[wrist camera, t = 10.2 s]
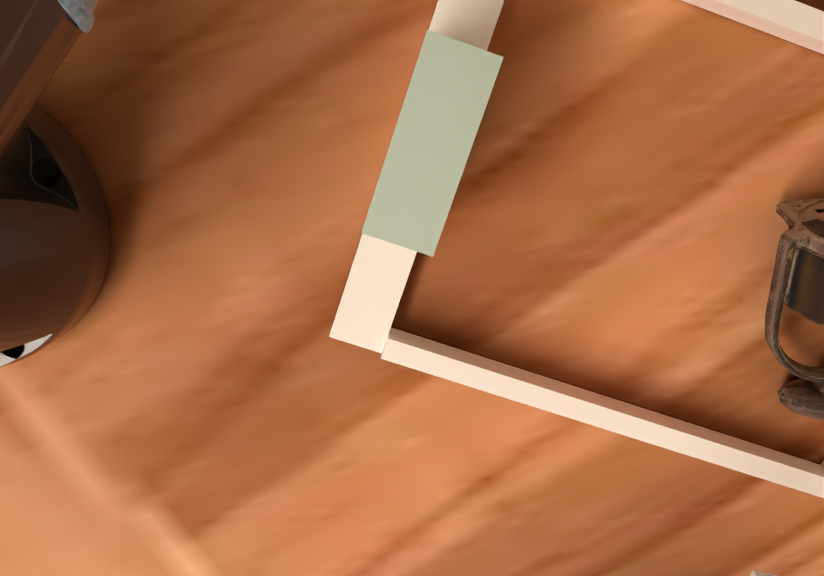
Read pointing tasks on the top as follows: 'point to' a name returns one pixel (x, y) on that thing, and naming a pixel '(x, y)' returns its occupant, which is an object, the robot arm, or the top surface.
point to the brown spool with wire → (799, 298)
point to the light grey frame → (428, 209)
